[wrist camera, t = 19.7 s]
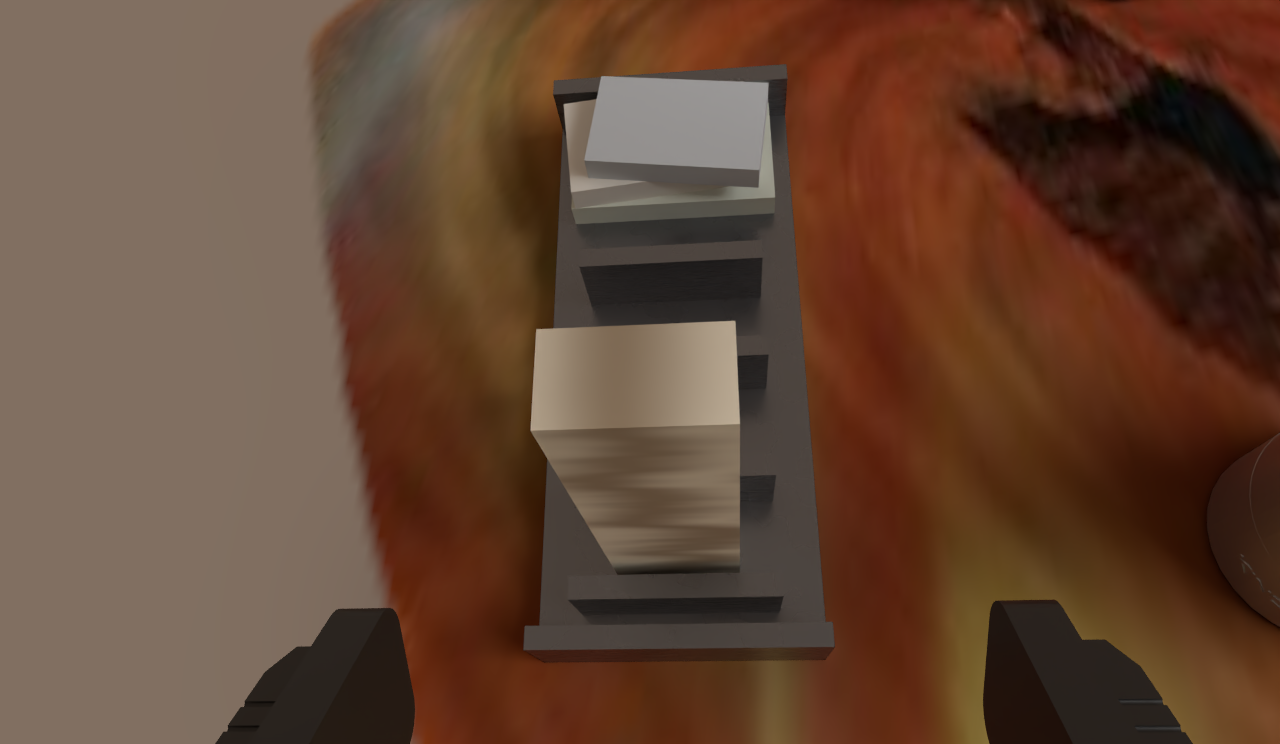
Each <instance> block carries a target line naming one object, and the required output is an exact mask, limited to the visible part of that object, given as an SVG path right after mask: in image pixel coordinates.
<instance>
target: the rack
mask: <svg viewBox="0 0 1280 744" xmlns="http://www.w3.org/2000/svg"><path fill="white" fill-rule="evenodd" d="M613 77H635V78H660V79H685V80H710V81H723V80H725V81H726V80H727V81H728V80H729V81H733V79H734V81H736V82H760V83H769V85H768V103H769V117H770V131H771V145H772V159H773V173H774V187H775V210H774V213H772V214H754V215H735V216H717V217H699V218H681V219H663V220H644V221H626V222H608V223H590V224H576V223H575V219H574V216H573V212H572V209H571V207H572V194H571V185H570V173H569V162H568V150H567V138H566V126H565V114H564V104H568V103H575V102H582V101H588V100H595V99H597V95H598V90H599V85H600V80H601V77H599V78H584V79H570V80H556V81H554V90H553V95H554V99H555V103H556V106H557V110H558V114H559V117H560V121H561V125H562V128H563V136H562V157H561V179H560V200H559V221H558V242H557V263H556V285H555V306H554V327H553V329H554V328H578V327H601V326H625V325H649V324H672V323H696V322H719V321H735V323H736V345H737V368H738V391H739V413H740V573H693V574H638V575H617V573H616V571H615V570H614V568H613V566H612V565H611V563H610V562H609V560H608V558H607V557H606V555H605V553H604V552H603V550H602V548H601V547H600V545H599V543H598V542H597V540H596V538H595V537H594V535H593V533H592V532H591V530H590V528H589V527H588V525H587V523H586V522H585V520H584V518H583V517H582V515H581V514H580V512H579V510H578V509H577V507H576V505H575V504H574V502H573V500H572V499H571V497H570V495H569V494H568V492H567V490H566V489H565V487H564V485H563V484H562V482H561V480H560V479H559V477H558V475H557V474H556V472H555V470H554V469H553V467H552V466H551V464H550V462H549V461H548V459H547V475H546V497H545V518H544V539H543V560H542V581H541V603H540V624H539V626H525V631H524V649H523V650H524V651H526V652H527V653H529V654H531V655H533V656H534V657H536V658H538V659H539V660H541V661H543V662H644V661H753V660H826V658H827V657H828V655H829V654H830V653H831V651H832V650H833V649H834V647H835V643H834V631H833V622H825V609H824V597H823V584H822V572H821V559H820V547H819V534H818V522H817V509H816V497H815V485H814V472H813V460H812V447H811V435H810V422H809V410H808V397H807V385H806V372H805V360H804V347H803V335H802V323H801V310H800V298H799V285H798V273H797V260H796V248H795V235H794V223H793V210H792V198H791V185H790V173H789V161H788V148H787V136H786V123H785V106H786V91H787V68H786V64H784V65H770V66H756V67H742V68H727V69H713V70H699V71H684V72H670V73H656V74H642V75H627V76H613ZM742 78H743V79H742ZM737 80H738V81H737ZM740 80H741V81H740Z"/></svg>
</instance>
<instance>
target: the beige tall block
mask: <svg viewBox="0 0 1280 744" xmlns="http://www.w3.org/2000/svg"><path fill="white" fill-rule="evenodd" d="M530 431H531V432H532V434H533V436H534V437H535V439H536V441H537V442H538V444H539V446H540V447H541V449H542V451H543V452H544V454H545V456H546V457H547V459H548V461H549V462H550V464H551V466H552V467H553V469H554V470H555V472H556V474H557V475H558V477H559V479H560V480H561V482H562V484H563V485H564V487H565V489H566V490H567V492H568V494H569V495H570V497H571V499H572V500H573V502H574V504H575V505H576V507H577V509H578V510H579V512H580V514H581V515H582V517H583V518H584V520H585V522H586V523H587V525H588V527H589V528H590V530H591V532H592V533H593V535H594V537H595V538H596V540H597V542H598V543H599V545H600V547H601V548H602V550H603V552H604V553H605V555H606V557H607V558H608V560H609V562H610V563H611V565H612V566H613V568H614V570H615V571H616V573H617V575H638V574H693V573H740V413H739V391H738V368H737V345H736V323H735V321H719V322H696V323H672V324H649V325H625V326H601V327H578V328H554V329H536V344H535V361H534V378H533V395H532V413H531V430H530Z"/></svg>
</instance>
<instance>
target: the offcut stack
mask: <svg viewBox="0 0 1280 744" xmlns="http://www.w3.org/2000/svg"><path fill="white" fill-rule="evenodd" d="M742 79H743V78H742ZM737 81H738V80H737ZM740 81H741V80H740ZM768 85H769V83H760V82H736V81H734V79H733V81H729V80H728V81H727V80H726V81H725V80H723V81H710V80H685V79H660V78H635V77H610V76H601V80H600V85H599V90H598V95H597V99H595V100H588V101H582V102H575V103H568V104H564V114H565V126H566V138H567V150H568V162H569V173H570V185H571V194H572V207H571V209H572V212H573V216H574V219H575V223H576V224H590V223H608V222H626V221H644V220H663V219H681V218H699V217H717V216H735V215H754V214H772V213H774V210H775V187H774V173H773V159H772V145H771V131H770V117H769V103H768Z"/></svg>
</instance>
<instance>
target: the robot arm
mask: <svg viewBox="0 0 1280 744" xmlns="http://www.w3.org/2000/svg"><path fill="white" fill-rule="evenodd" d="M1207 531H1208V536H1209V541H1210V545H1211V550H1212V552H1213V554H1214V556H1215V558H1216V561H1217V563H1218V565H1219V567H1220V570H1221V571H1222V573H1223V574H1224V576H1225V577H1226V579H1227V580H1228V581H1229V583H1230V584H1231V586H1232V587H1233V589H1234V590H1235V591H1236V592H1237V593H1238V594H1239V595H1240V596H1241V597H1242V598H1243V599H1244V600H1245V601H1246V602H1247V603H1248V604H1249V605H1250V606H1251V608H1253V609H1254V610H1255V611H1257V612H1258V613H1259V614H1261V615H1262V616H1263V617H1265V618H1266V619H1268V620H1269V621H1270V622H1272V623H1273V624H1275V625H1277V626H1279V627H1280V433H1279V434H1277V435H1275V436H1274V437H1272V438H1271V439H1269V440H1268V441H1266V442H1265V443H1263V444H1261V445H1260V446H1258V447H1257V448H1255V449H1254V450H1252V451H1250V452H1249V453H1247V454H1246V455H1244V456H1243V457H1241V458H1239V459H1238V460H1236V461H1235V462H1234V463H1233V464H1232V465H1231V466H1230V467H1229V468H1228V469H1226V470H1225V471H1224V472H1223V473H1222V474H1221V476H1220V478H1219V479H1218V481H1217V483H1216V484H1215V486H1214V488H1213V490H1212V492H1211V496H1210V500H1209V504H1208V507H1207ZM983 707H984V719H985V726H986V731H987V735H988V740H989V743H990V744H1193V743H1192V742H1191V740H1190V739H1189V737H1188V736H1187V734H1186V733H1185V732H1181V728H1180V724H1179V723H1178V721H1177V720H1176V718H1175V717H1174V715H1173V714H1172V712H1171V711H1170V709H1169V708H1168V706H1167V705H1163V702H1162V697H1161V696H1160V694H1159V693H1158V692H1157V690H1156V689H1155V687H1154V686H1153V684H1152V683H1151V681H1150V680H1149V678H1148V677H1147V675H1146V674H1145V672H1144V671H1143V669H1142V668H1141V667H1140V666H1139V665H1138V664H1136V663H1135V662H1134V661H1132V660H1131V659H1130V658H1129V657H1127V656H1126V655H1125V654H1123V653H1122V652H1121V651H1119V650H1118V649H1117V648H1115V647H1114V646H1113V645H1111V644H1110V643H1109V642H1107V641H1106V640H1082V639H1081V637H1080V636H1079V634H1078V632H1077V631H1076V629H1075V627H1074V626H1073V624H1072V623H1071V621H1070V619H1069V618H1068V616H1067V614H1066V613H1065V611H1064V609H1063V608H1062V606H1061V605H1060V604H1059V603H1058V602H1057V601H1056V600H1013V601H995V602H994V603H993V604H992V607H991V611H990V619H989V631H988V644H987V656H986V669H985V681H984V694H983ZM414 717H415V704H414V695H413V690H412V685H411V680H410V674H409V669H408V664H407V659H406V654H405V649H404V644H403V639H402V634H401V628H400V623H399V619H398V616H397V614H396V612H395V611H394V610H393V609H391V608H371V609H370V608H368V609H338V610H336V611H335V612H334V613H333V614H332V615H331V616H330V618H329V619H328V621H327V623H326V624H325V626H324V627H323V629H322V630H321V632H320V634H319V635H318V637H317V638H316V640H315V641H314V643H313V644H312V646H311V647H296V648H295V649H293V650H292V651H291V652H290V653H288V654H287V655H286V656H285V657H283V658H282V659H281V660H280V661H278V662H277V663H276V664H275V665H273V666H272V667H271V668H269V669H268V670H267V671H266V672H265V673H264V674H263V676H262V677H261V679H260V680H259V681H258V683H257V684H256V686H255V687H254V689H253V690H252V692H251V693H250V694H249V696H248V697H247V699H246V700H245V706H244V707H241V708H240V709H239V711H238V712H237V713H236V715H235V716H234V718H233V719H232V720H231V722H230V723H229V725H228V731H227V732H223V733H222V735H221V736H220V738H219V739H218V741H217V742H216V744H410V741H411V737H412V733H413V727H414Z"/></svg>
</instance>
